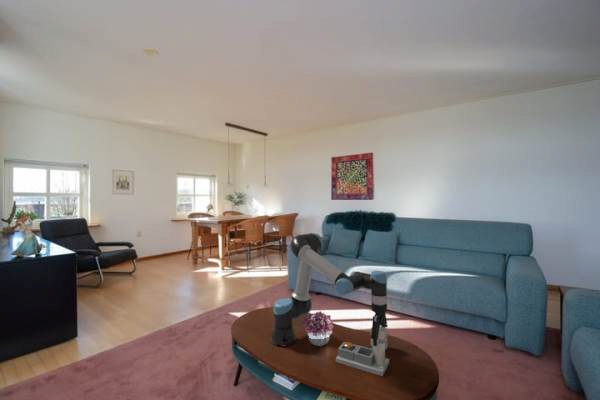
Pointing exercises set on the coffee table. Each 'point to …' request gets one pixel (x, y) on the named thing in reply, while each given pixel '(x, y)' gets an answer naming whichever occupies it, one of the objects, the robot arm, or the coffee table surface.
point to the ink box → (385, 341)
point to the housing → (360, 359)
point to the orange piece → (348, 346)
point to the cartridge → (380, 349)
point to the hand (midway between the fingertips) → (379, 345)
